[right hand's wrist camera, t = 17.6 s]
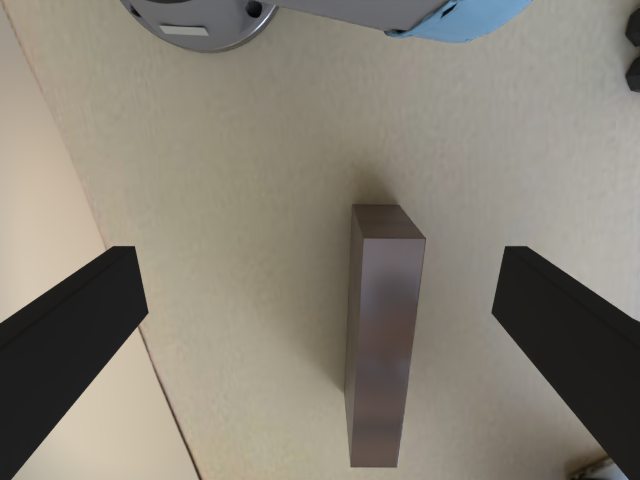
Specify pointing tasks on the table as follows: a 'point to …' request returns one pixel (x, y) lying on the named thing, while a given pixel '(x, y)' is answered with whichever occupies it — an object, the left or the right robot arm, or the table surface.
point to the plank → (380, 330)
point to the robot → (636, 33)
